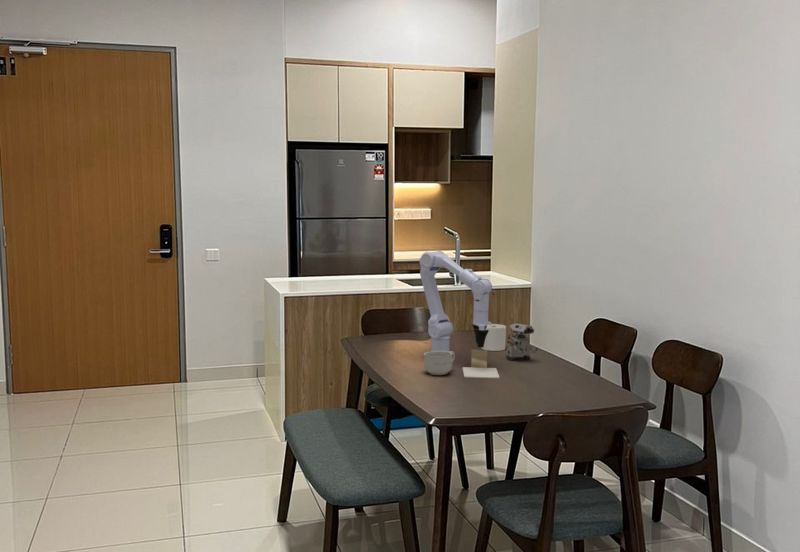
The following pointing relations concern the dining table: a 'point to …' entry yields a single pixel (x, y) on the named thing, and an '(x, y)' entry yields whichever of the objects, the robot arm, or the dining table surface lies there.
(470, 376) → the mat
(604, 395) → the dining table surface
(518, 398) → the dining table surface
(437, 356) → the teacup
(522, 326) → the figurine
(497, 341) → the toilet tissue
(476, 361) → the wooden block
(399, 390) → the dining table surface
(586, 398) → the dining table surface
